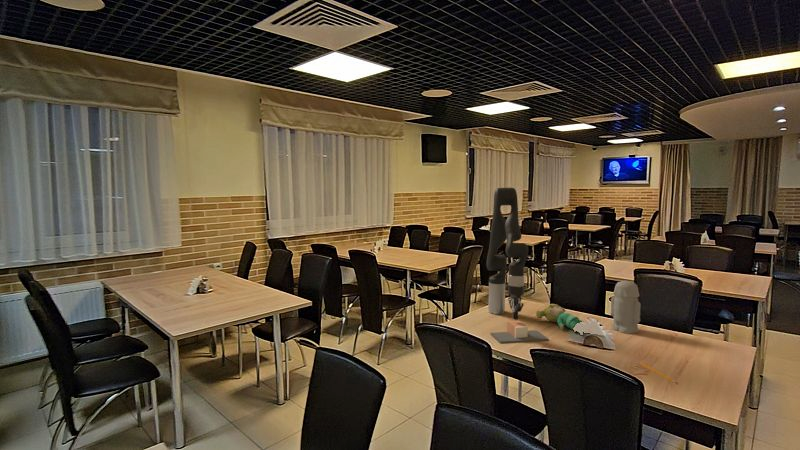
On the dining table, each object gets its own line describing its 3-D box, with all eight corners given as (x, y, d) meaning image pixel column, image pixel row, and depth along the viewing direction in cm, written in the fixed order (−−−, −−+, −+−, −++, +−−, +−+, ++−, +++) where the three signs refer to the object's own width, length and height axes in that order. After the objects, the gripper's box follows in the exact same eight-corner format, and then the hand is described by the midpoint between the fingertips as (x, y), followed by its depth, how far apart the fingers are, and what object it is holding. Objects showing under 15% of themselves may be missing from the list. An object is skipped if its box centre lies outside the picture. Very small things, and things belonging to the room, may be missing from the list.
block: (507, 320, 210) (515, 327, 200) (518, 320, 211) (527, 326, 201) (506, 330, 210) (515, 337, 201) (518, 330, 211) (527, 337, 202)
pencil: (676, 384, 155) (676, 382, 155) (637, 363, 174) (637, 361, 174) (678, 384, 156) (678, 382, 156) (639, 363, 174) (639, 361, 174)
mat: (490, 334, 208) (490, 332, 208) (536, 331, 211) (536, 330, 211) (499, 343, 196) (499, 341, 196) (548, 340, 200) (548, 338, 200)
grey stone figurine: (604, 327, 218) (606, 279, 215) (615, 324, 223) (617, 277, 221) (633, 336, 206) (636, 285, 203) (644, 331, 211) (647, 282, 209)
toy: (577, 326, 202) (533, 301, 228) (574, 345, 205) (530, 318, 231) (602, 320, 209) (556, 297, 236) (598, 339, 212) (553, 313, 238)
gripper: (503, 281, 212) (502, 315, 214) (514, 287, 199) (513, 323, 201) (517, 280, 213) (516, 314, 215) (529, 287, 200) (528, 323, 202)
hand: (515, 319), depth 208 cm, fingers closed
